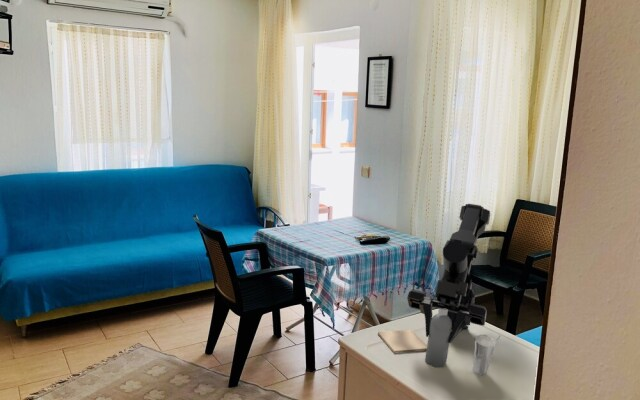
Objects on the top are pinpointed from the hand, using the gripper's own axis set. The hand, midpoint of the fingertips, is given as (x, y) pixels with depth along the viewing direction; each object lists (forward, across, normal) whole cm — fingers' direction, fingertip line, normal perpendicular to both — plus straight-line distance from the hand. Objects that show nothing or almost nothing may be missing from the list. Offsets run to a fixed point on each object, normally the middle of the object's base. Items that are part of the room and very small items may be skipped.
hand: (438, 339), depth 119 cm
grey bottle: (+4, 0, +6) cm, 7 cm away
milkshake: (+3, +11, +7) cm, 13 cm away
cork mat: (0, -10, +10) cm, 14 cm away
